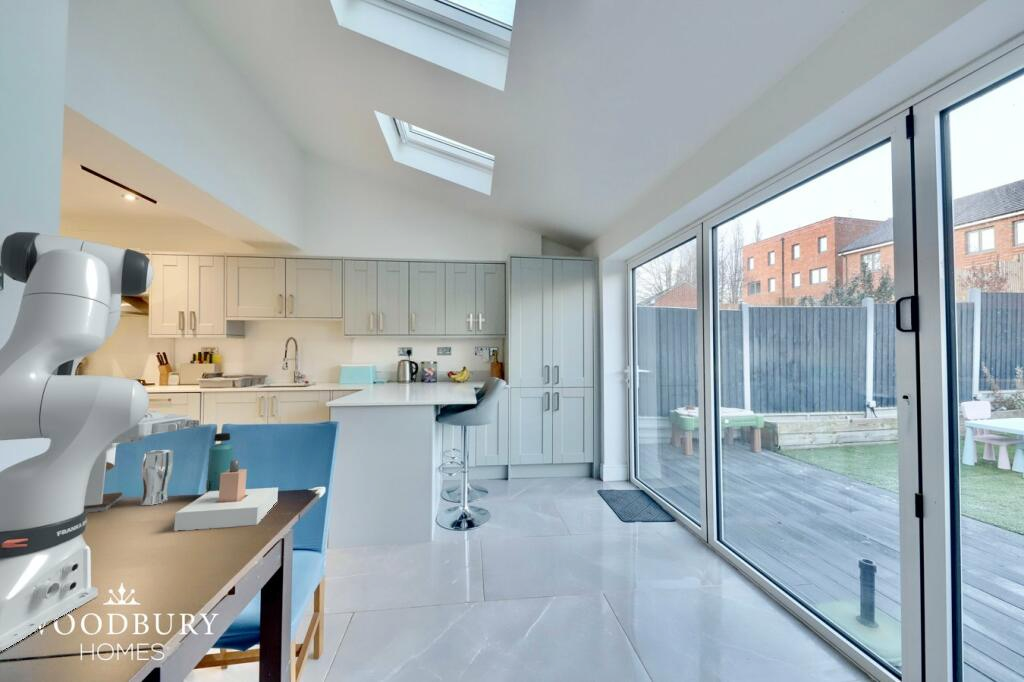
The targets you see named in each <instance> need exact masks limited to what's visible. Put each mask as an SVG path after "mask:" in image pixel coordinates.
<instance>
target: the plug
mask: <svg viewBox="0 0 1024 682" xmlns="http://www.w3.org/2000/svg"><path fill="white" fill-rule="evenodd" d="M239 467H240V459H233V460H231V461H230V470H228V471H225V472H223V473H221V475H220V488H219V501H218V503H225V502H240V501H242V500H243V499H244V498H245V489H247V488H246V486H247V485H246V484H247V473H248V471H247V470H248V469H247V468H243V469H240V468H239Z"/></svg>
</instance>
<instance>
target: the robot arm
mask: <svg viewBox="0 0 1024 682" xmlns="http://www.w3.org/2000/svg"><path fill="white" fill-rule="evenodd" d="M0 267H1V270H2V272H3V274H5V275H6V276H7V277H9V278H10V279H12V280H13V281H17V282H20V283H24V284H25V286H24V288H23V289H24V290H23V294H22V297H21V300H20V305H19V310H18V313H17V316H16V318H15V319H16V320H15V322H14V326H13V329H12V331H11V333H10V336H9V338H8V339H7V341H6V343H5V344H4V345H3V346H2V347H1V348H0V441H10V440H11V441H13V440H29V439H31V440H32V439H49V440H50V443H49V447H48V449H46V451H44V452H42V453H40V454H38V455H35V456H32V457H29V458H27V459H24V460H21V461H20V462H17V463H15V464H12V465H11V466H8V467H6V468H4V469H2V470H0V650H4V649H6V648H8V647H10V646H11V645H13V644H14V643H16V642H19V641H20V640H22V639H24V638H25V637H26V636H28V635H30V634H31V633H32V632H34V631H35V630H36V629H37V628H38V627H39V626H40V625H41V624H43V623H45V622H48V621H50V620H53V619H56V618H58V617H61V616H63V615H64V616H66V615H68V614H69V613H71V612H73V611H74V610H76V609H78V608H80V607H81V606H83V605H85V604H86V603H89V601H91V600H93V599H95V598H96V597H97V596H99V595H98V594H99V590H98V588H97V587H95V586H92V572H91V571H92V560H91V559H92V558H91V548H90V546H89V545H88V544H87V543H86V540H85V539H84V537H83V533H84V532H85V531H86V528H87V527H86V526H87V525H86V524H87V523H88V517H87V514H88V513H87V511H86V510H84V502H85V495H86V489H87V484H88V480H89V475H90V472H91V469H92V467H93V464H94V463H95V461H96V459H97V457H98V456H99V455H100V453H101V452H102V451H103V450H104V449H105V447H106V446H107V445H108V444H110V443H120V444H135V443H138V442H140V441H142V440H143V439H145V438H148V437H151V436H154V435H158V434H160V435H161V434H164V433H169V432H176V431H179V430H185V429H190V427H191V428H196V427H200V426H201V420H200V419H191V416H190V415H187V414H172V413H160V411H148V410H149V407H150V397H149V393H148V391H147V389H146V388H145V387H144V385H143V384H142V383H140V382H139V381H138V380H136V379H133V378H132V379H130V378H125V377H120V376H109V375H87V374H86V375H81V374H79V375H77V374H76V371H77V368H78V366H79V364H80V363H81V361H82V360H84V358H85V357H86V356H89V355H91V354H93V353H95V352H96V351H98V350H99V349H101V347H102V346H103V344H104V343H105V341H106V340H107V339H109V338H110V337H111V336H113V334H114V333H115V332H116V331H117V328H118V326H119V323H120V320H121V315H122V314H121V313H122V296H123V297H124V296H125V297H129V296H130V297H132V296H140V295H142V294H144V293H146V292H147V289H148V288H149V287H150V286H151V285H152V283H153V280H154V276H155V275H154V268H153V265H152V264H151V261H150V258H149V257H147V255H146V254H144V253H142V252H140V251H136V250H134V249H129V248H127V249H124V248H121V247H117V246H114V245H113V246H112V245H109V244H104V243H98V242H94V241H88V240H86V239H81V238H76V237H70V236H69V237H68V236H59V235H48V234H41V233H40V232H35V231H34V232H32V231H31V232H30V231H18V232H17V231H16V232H14V233H12V234H9V235H7V236H6V237H5V238H4V240H3V242H2V243H1V244H0ZM75 608H76V609H75ZM73 609H74V610H73ZM72 610H73V611H72ZM70 611H71V612H70ZM68 612H69V613H68ZM67 613H68V614H67ZM65 614H66V615H65ZM64 616H63V617H64ZM61 618H62V617H61ZM30 636H31V635H30ZM25 639H26V638H25ZM25 639H24V640H25ZM22 641H23V640H22ZM20 642H21V641H20ZM20 642H19V643H20ZM13 646H14V645H13ZM10 648H11V647H10ZM8 649H9V648H8ZM6 650H7V649H6Z"/></svg>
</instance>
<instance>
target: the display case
mask: <svg viewBox="0 0 1024 682" xmlns="http://www.w3.org/2000/svg"><path fill="white" fill-rule="evenodd" d="M120 444H121V443H110V444H108V445H107V446H106V447H105V449H104V450H103V451H102V452H101V453H100V455H99V456H98V457H97V459H96V461H95V463H94V464H93V467H92V469H91V472H90V475H89V480H88V484H87V489H86V495H85V502H84V510H86V511H87V514H89V512H93V513H99V512H98V511H102V512H106V511H108V510H109V509H110V508H112V507H113V506H115V505H116V504H117V503H118V502H120V501H119V500H116V499H121V500H123V499H122V497H123V492H121V491H120V492H111V493H104V488H105V482H106V481H105V478H106V472H108V471H110V470H112V469H113V468H114V467H115V462H116V461H115V460H116V452H117V451H116V450H117V446H119V445H120ZM117 501H118V502H117ZM116 502H117V503H116ZM115 503H116V504H115ZM112 505H113V506H112ZM111 506H112V507H111ZM108 508H109V509H108ZM107 509H108V510H107Z"/></svg>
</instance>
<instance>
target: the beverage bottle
mask: <svg viewBox="0 0 1024 682" xmlns="http://www.w3.org/2000/svg"><path fill="white" fill-rule="evenodd" d="M230 440H231V433H229V432H220V433H216V434H214V438H213V441H214V442H222V443H215V444H213V445H212V446H210V448H208V449H209V450H208V451H209V452H208V463H207V473H206V474H207V475H206V476H207V477H206V484H205V487H206V488H205V494H206V493H208V492H209V491H219V488H220V475H221V473H223V472H225V471H228V470H230V461H231V460H234V458H233V457H234V445H232V444H231V443H229V442H227V443H226V441H230ZM224 441H225V443H224Z"/></svg>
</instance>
